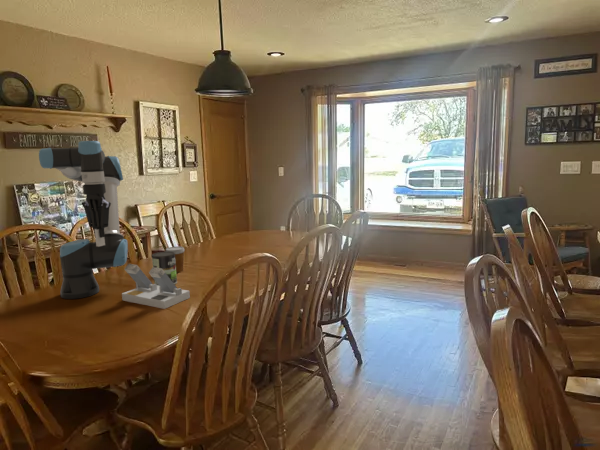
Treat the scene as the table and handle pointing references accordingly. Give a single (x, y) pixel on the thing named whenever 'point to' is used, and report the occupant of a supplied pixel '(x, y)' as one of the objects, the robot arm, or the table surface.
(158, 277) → the paddle over charcoal tile
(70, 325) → the table surface
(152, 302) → the switch unit
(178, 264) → the disposable coffee cup
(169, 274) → the coffee can
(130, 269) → the paddle over amber tile
